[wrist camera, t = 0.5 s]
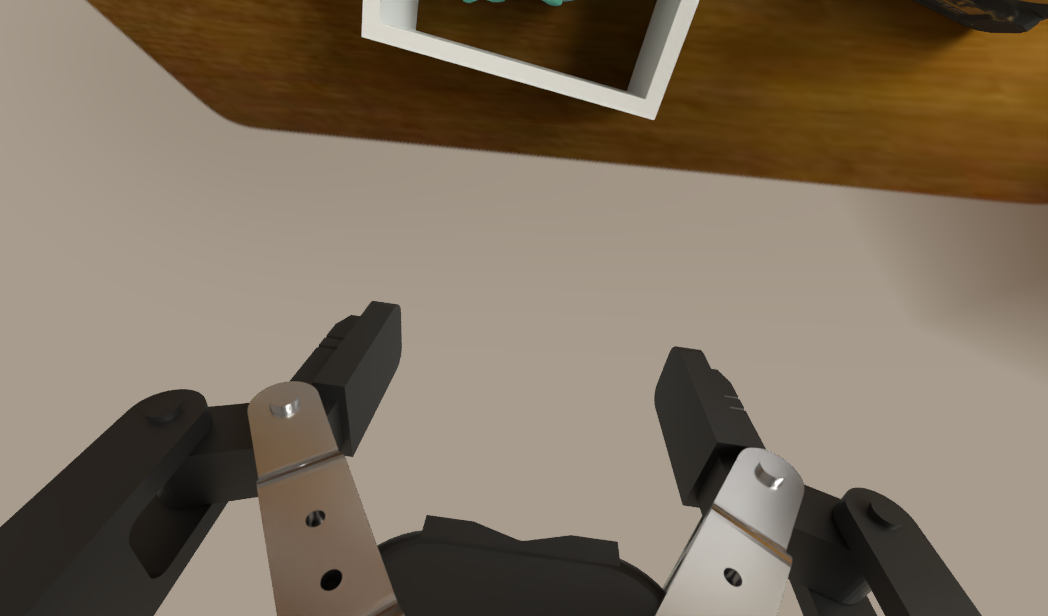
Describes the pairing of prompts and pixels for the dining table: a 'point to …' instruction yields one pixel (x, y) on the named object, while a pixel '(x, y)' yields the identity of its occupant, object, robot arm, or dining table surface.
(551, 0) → the toy
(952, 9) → the power drill
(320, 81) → the dining table surface
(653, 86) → the toy caddy
